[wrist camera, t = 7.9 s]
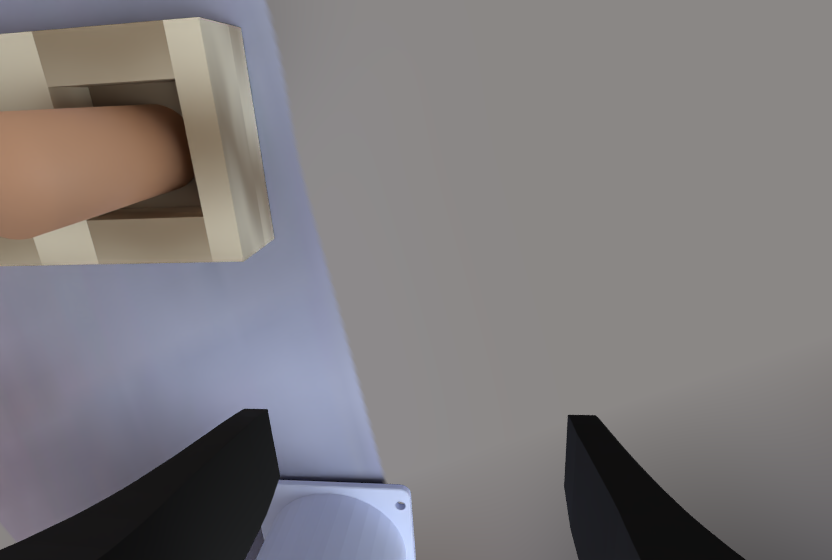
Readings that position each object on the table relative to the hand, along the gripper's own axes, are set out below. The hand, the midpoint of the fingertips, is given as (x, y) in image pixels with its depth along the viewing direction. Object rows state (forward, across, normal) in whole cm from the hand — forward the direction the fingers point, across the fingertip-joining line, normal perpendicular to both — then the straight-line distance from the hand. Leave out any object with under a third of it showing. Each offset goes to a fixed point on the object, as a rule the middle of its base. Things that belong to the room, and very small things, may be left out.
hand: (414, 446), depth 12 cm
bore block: (+10, +14, -6) cm, 18 cm away
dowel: (+9, +10, -6) cm, 15 cm away
